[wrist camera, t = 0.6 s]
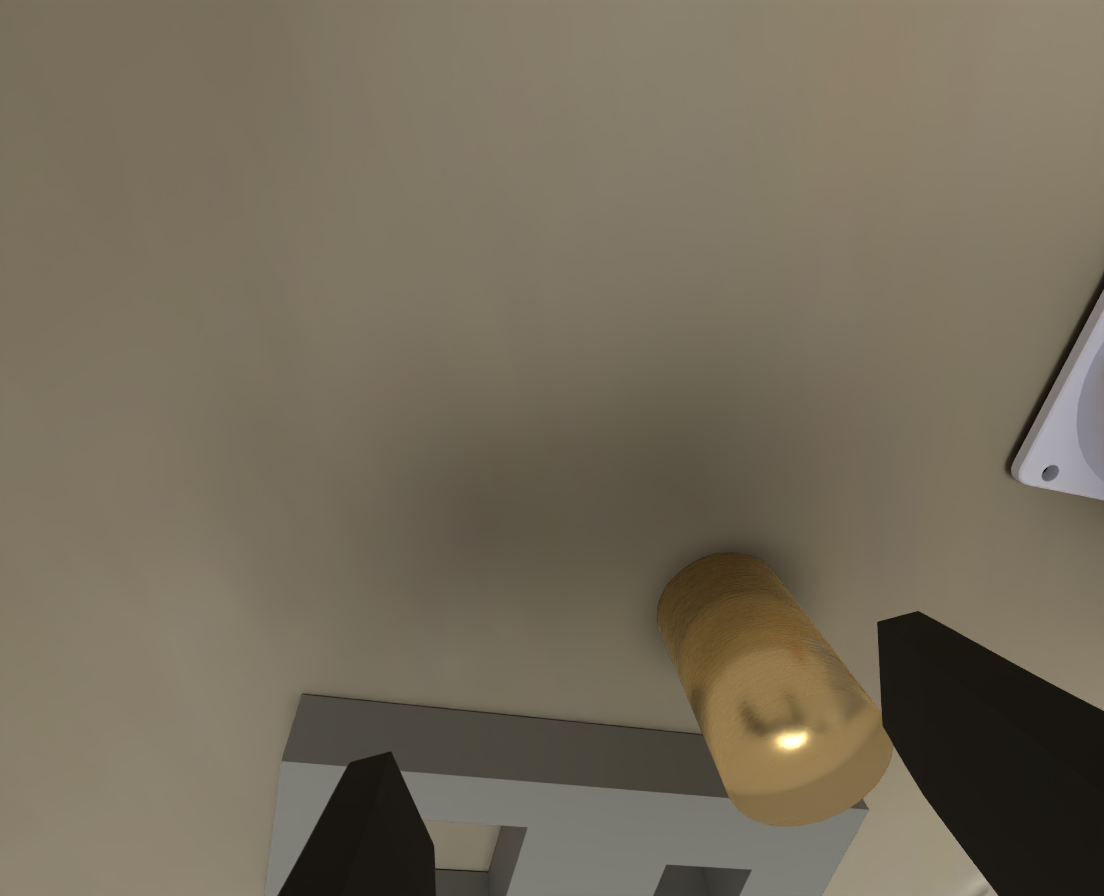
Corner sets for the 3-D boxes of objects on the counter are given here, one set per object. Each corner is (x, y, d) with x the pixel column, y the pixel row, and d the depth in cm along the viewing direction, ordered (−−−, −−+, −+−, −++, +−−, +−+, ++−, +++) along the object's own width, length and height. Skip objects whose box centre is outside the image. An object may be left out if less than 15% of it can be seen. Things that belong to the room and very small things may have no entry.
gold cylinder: (800, 562, 21) (921, 705, 15) (756, 666, 22) (852, 832, 17) (679, 543, 20) (761, 687, 15) (641, 652, 21) (702, 820, 16)
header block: (830, 748, 24) (869, 809, 22) (745, 918, 27) (771, 988, 25) (301, 694, 20) (281, 761, 18) (274, 896, 24) (253, 975, 21)
